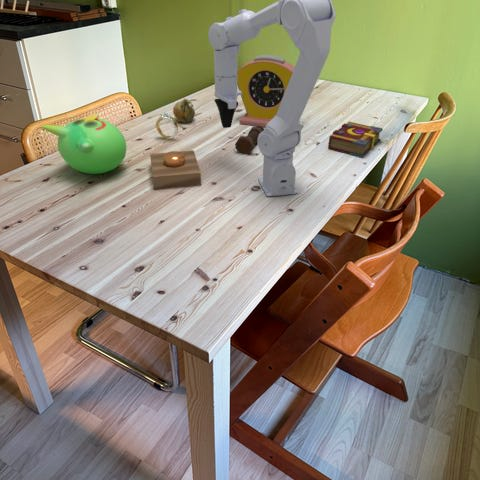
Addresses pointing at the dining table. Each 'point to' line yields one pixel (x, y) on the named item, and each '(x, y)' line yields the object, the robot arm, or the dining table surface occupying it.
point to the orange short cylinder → (174, 159)
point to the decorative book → (354, 139)
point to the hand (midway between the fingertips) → (226, 126)
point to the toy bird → (90, 144)
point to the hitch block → (175, 172)
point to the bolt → (248, 141)
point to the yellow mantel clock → (263, 88)
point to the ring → (169, 120)
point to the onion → (184, 110)
